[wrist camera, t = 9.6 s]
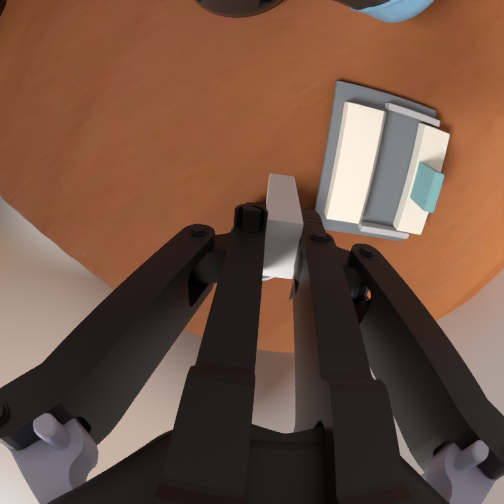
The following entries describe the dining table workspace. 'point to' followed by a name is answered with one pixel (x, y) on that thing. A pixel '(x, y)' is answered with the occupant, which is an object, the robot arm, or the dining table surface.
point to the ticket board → (385, 160)
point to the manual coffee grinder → (1, 7)
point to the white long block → (422, 180)
